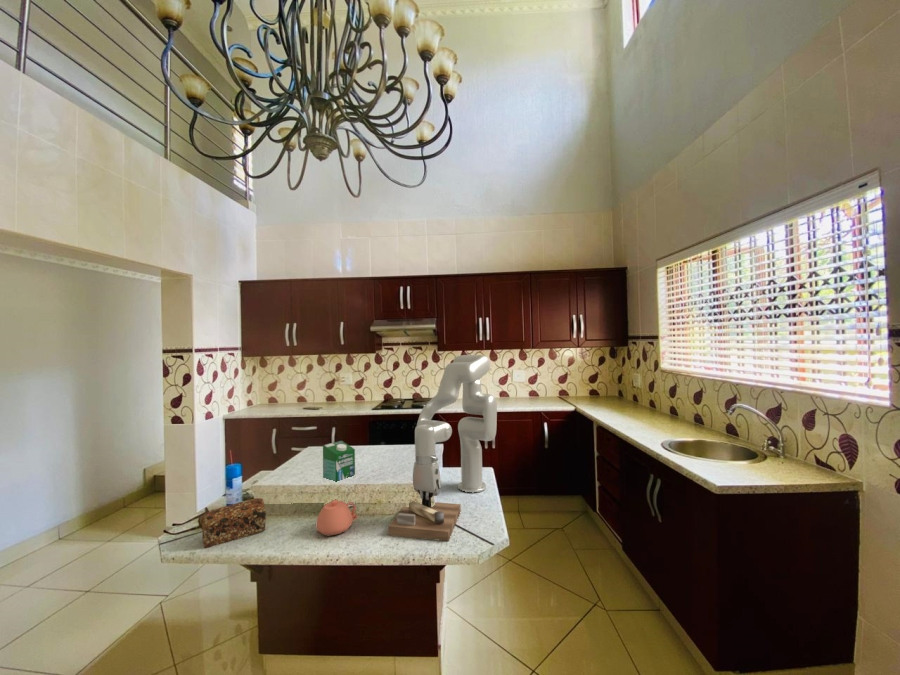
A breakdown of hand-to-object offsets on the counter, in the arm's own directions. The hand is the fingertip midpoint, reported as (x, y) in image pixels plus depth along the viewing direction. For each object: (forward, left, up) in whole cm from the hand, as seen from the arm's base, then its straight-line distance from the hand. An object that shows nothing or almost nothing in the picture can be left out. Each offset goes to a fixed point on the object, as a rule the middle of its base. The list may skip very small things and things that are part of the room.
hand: (426, 508), depth 131 cm
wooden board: (+2, +1, -4) cm, 5 cm away
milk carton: (-5, -38, -4) cm, 39 cm away
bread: (+22, -63, -4) cm, 67 cm away
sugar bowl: (+12, -29, -4) cm, 32 cm away
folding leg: (+4, +1, -1) cm, 4 cm away
